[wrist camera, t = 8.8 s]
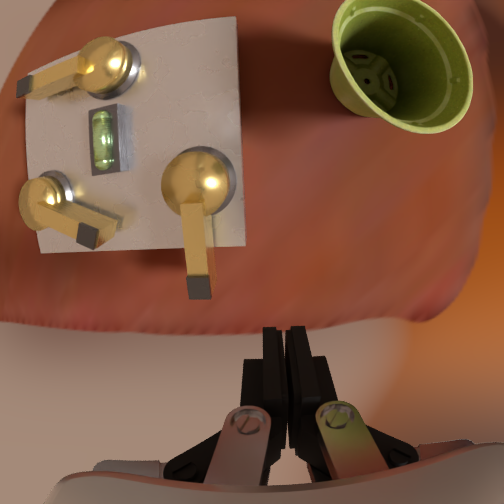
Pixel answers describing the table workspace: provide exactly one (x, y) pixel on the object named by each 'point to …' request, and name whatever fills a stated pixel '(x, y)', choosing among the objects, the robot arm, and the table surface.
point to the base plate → (145, 136)
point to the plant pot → (400, 65)
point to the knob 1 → (62, 213)
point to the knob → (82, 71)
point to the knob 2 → (197, 212)
